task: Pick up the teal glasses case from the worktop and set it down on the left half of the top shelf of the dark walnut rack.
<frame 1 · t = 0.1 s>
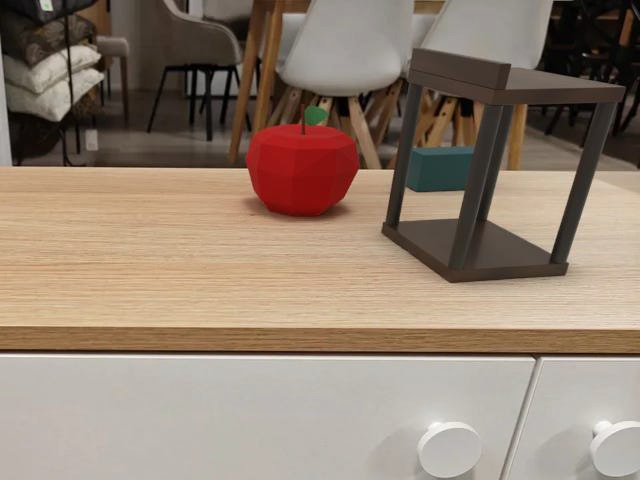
rack: (466, 252, 58), on the cabinet
apple: (296, 208, 69), on the cabinet
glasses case: (441, 186, 76), on the cabinet
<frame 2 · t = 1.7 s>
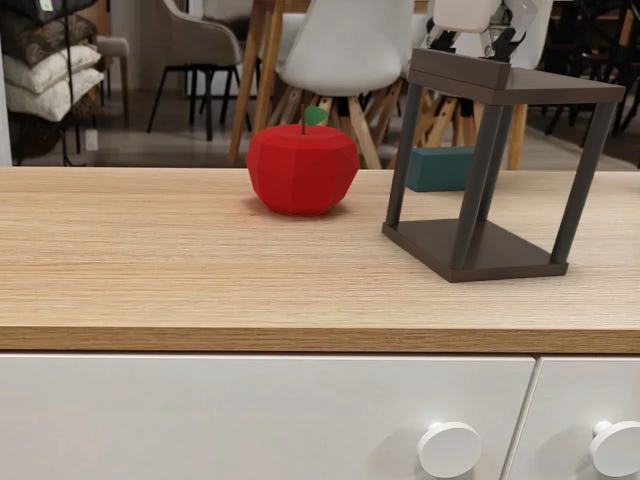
hand: (457, 93, 72), 10 cm above the cabinet, tool pointing down, fingers open, 9 cm apart
nothing on the cabinet moved.
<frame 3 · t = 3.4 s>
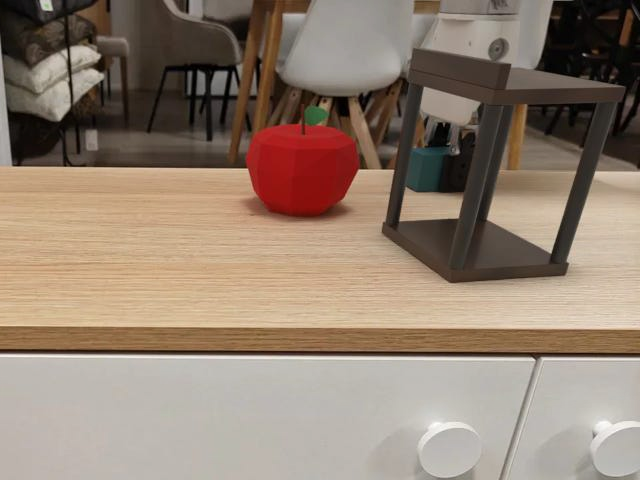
hand: (441, 183, 76), 0 cm above the cabinet, tool pointing down, fingers closed on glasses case, 3 cm apart
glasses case: (441, 186, 76), on the cabinet, touching gripper
everything else where it was.
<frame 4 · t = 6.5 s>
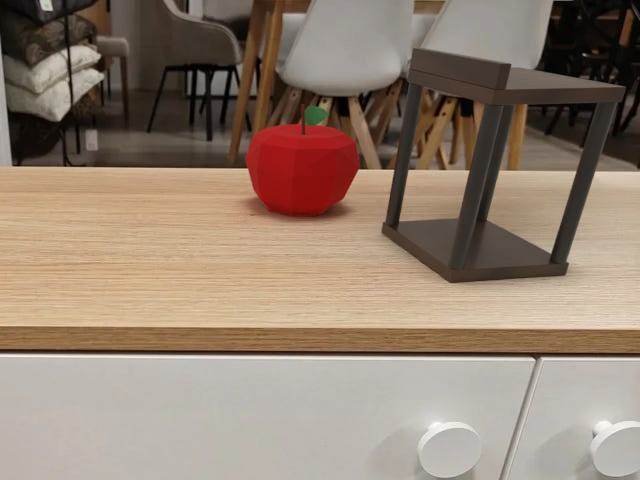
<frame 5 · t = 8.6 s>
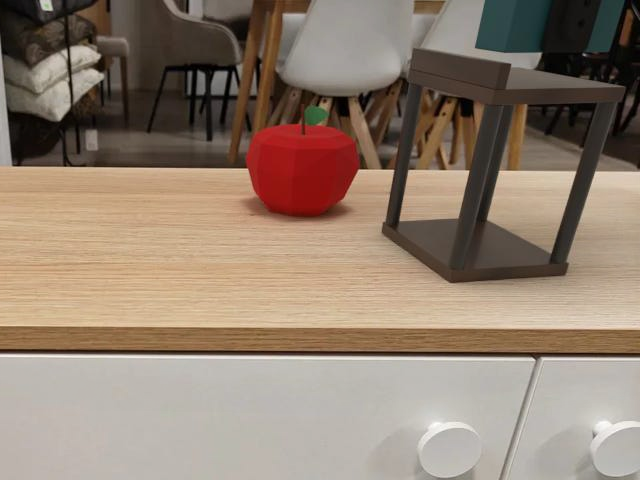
hand: (542, 46, 47), 16 cm above the cabinet, tool pointing down, fingers closed on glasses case, 3 cm apart
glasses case: (540, 50, 47), point 16 cm above the cabinet, touching gripper
everything else where it was.
when the fingers open (14 cm above the cabinet, at t = 9.6 s): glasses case stays where it is, resting on rack.
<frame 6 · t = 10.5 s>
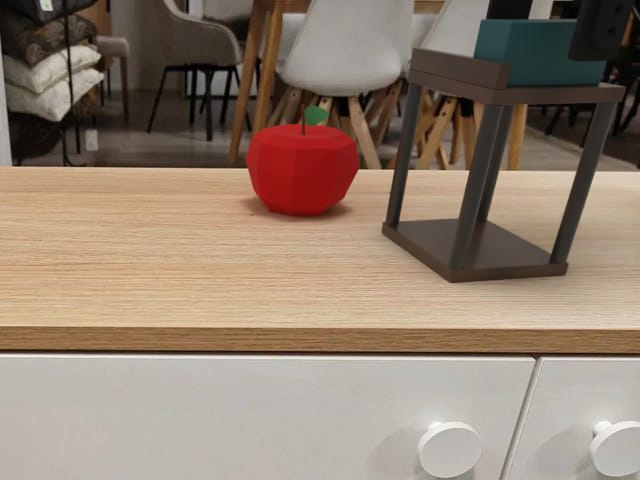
hand: (541, 53, 48), 16 cm above the cabinet, tool pointing down, fingers open, 9 cm apart
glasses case: (532, 82, 48), point 14 cm above the cabinet, touching rack
everything else where it was.
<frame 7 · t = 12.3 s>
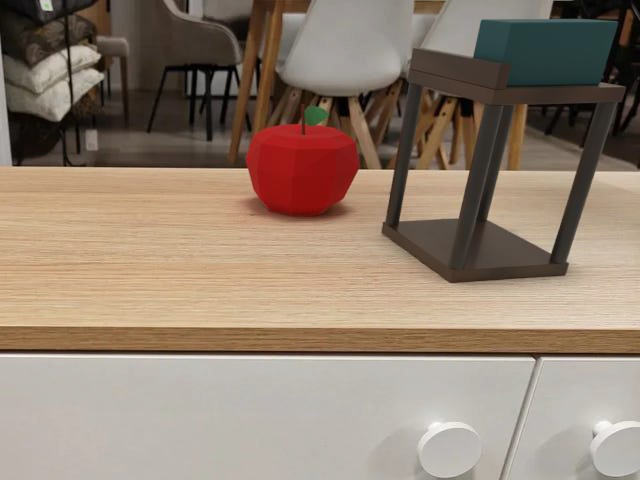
nothing on the cabinet moved.
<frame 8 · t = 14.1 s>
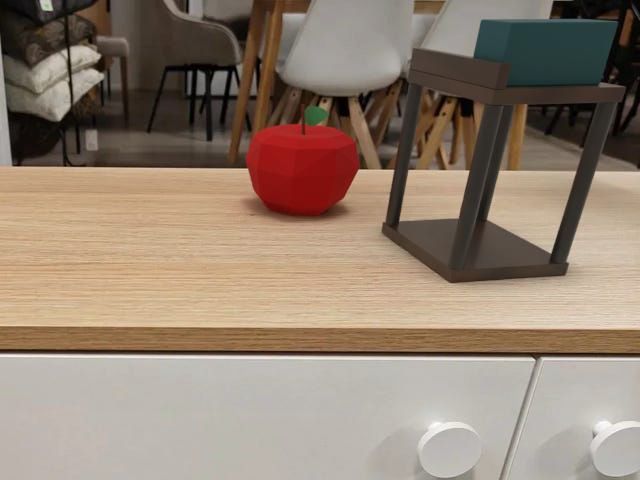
nothing on the cabinet moved.
at the end: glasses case inside the target area on the rack (0.5 cm from its centre), point 14.0 cm above the rack's base; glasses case tilted 0°; the gripper is holding nothing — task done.
